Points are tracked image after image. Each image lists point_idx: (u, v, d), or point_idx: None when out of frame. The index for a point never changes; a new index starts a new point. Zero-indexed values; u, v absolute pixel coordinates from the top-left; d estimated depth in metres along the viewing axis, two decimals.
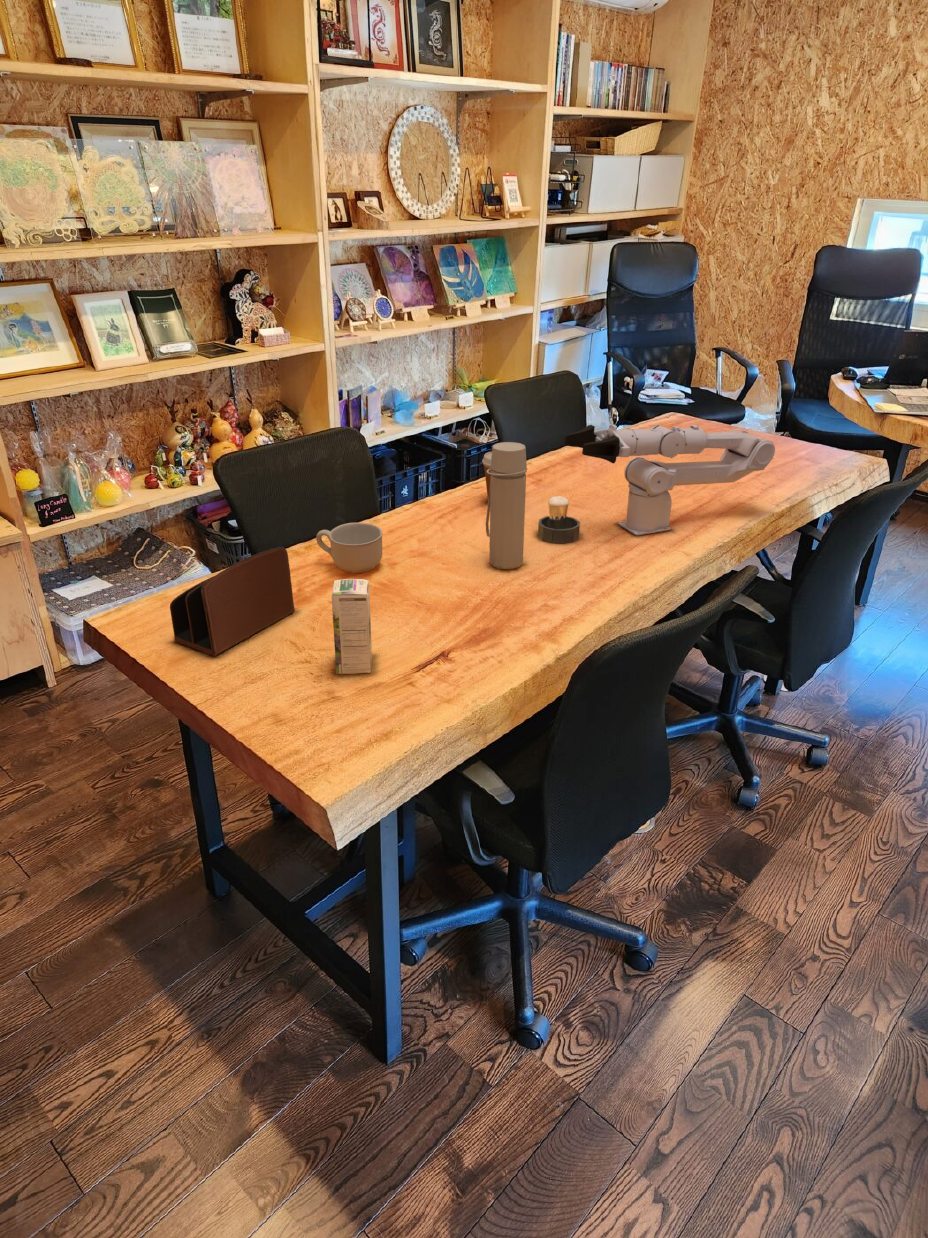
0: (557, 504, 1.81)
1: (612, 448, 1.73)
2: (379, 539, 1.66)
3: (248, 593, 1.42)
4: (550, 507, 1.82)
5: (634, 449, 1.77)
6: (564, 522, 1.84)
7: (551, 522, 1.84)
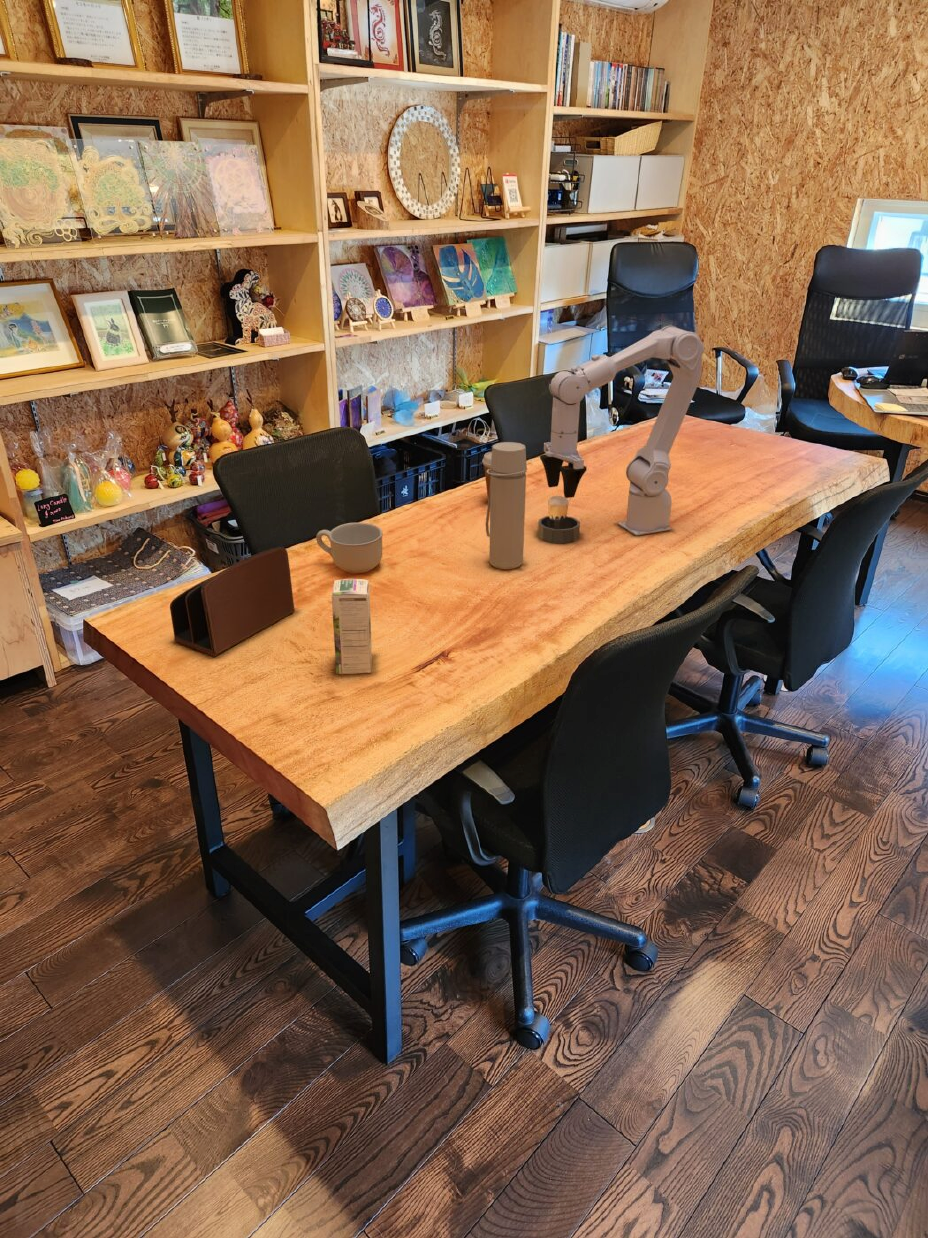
0: (557, 504, 1.81)
1: None
2: (379, 539, 1.66)
3: (248, 593, 1.42)
4: (550, 507, 1.82)
5: (573, 434, 1.74)
6: (564, 522, 1.84)
7: (551, 522, 1.84)
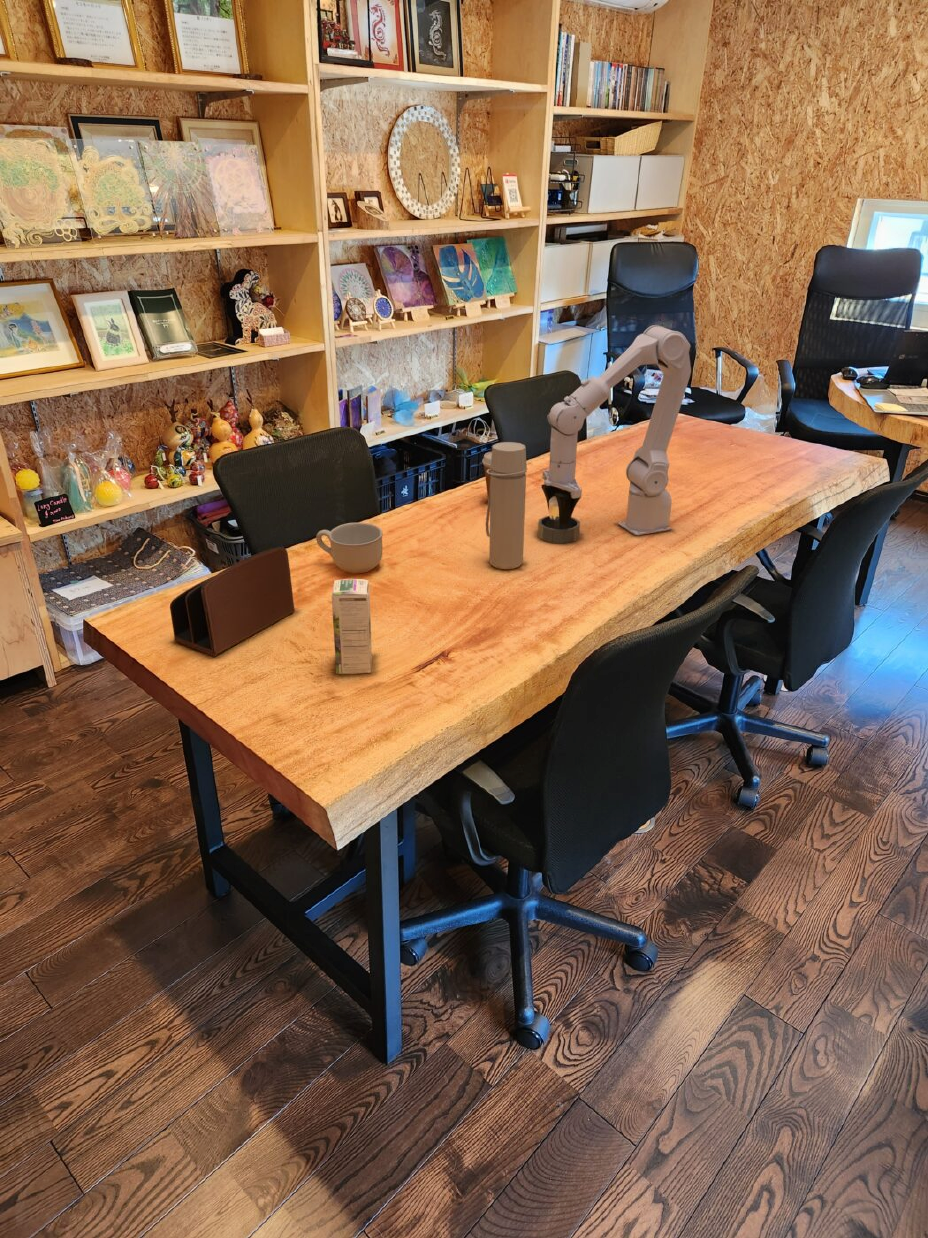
0: None
1: None
2: (379, 539, 1.66)
3: (248, 593, 1.42)
4: (551, 507, 1.82)
5: (571, 463, 1.77)
6: None
7: (551, 522, 1.84)
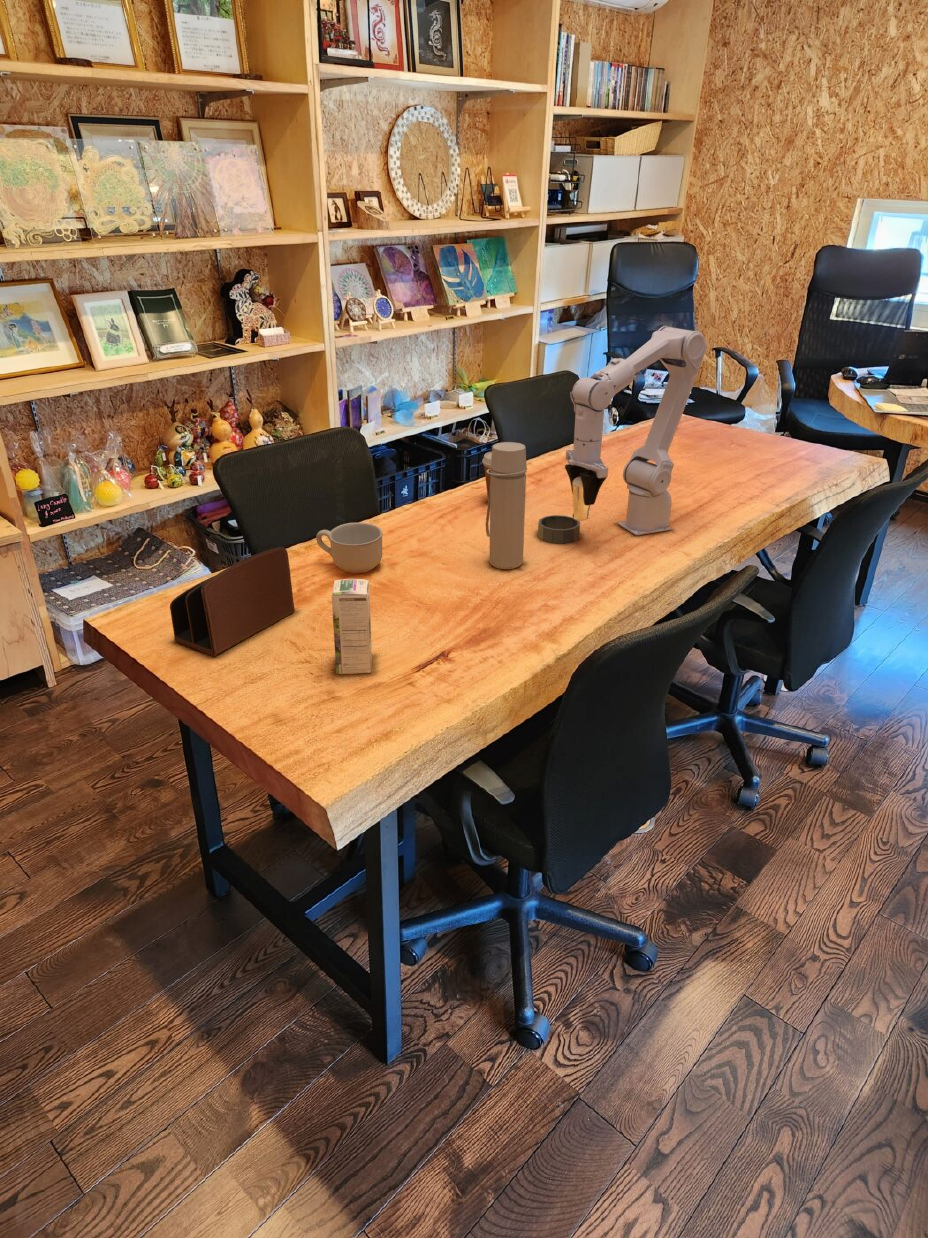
0: (582, 485, 1.73)
1: None
2: (379, 539, 1.66)
3: (248, 593, 1.42)
4: (574, 488, 1.74)
5: (597, 442, 1.68)
6: None
7: (575, 504, 1.76)
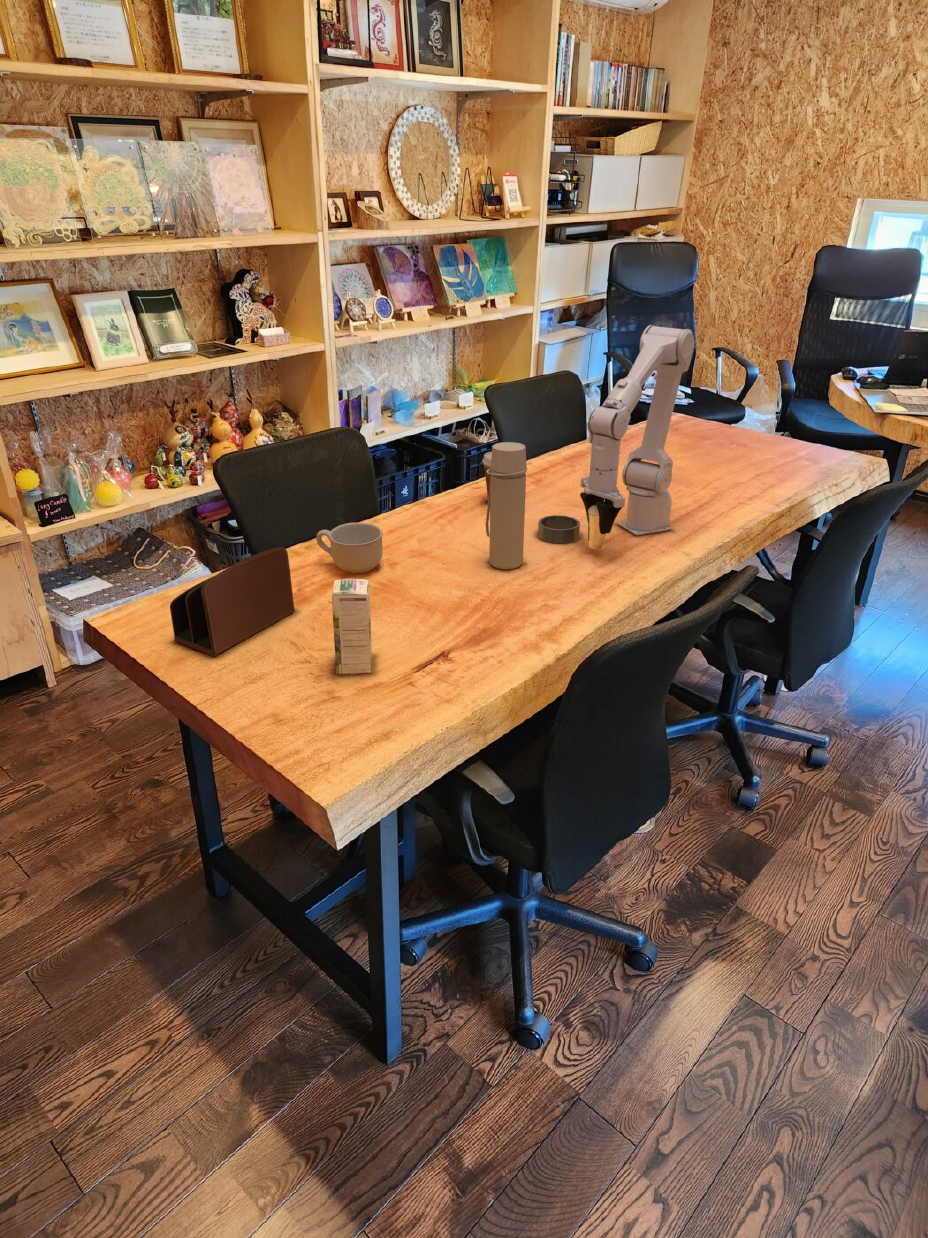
0: (598, 514, 1.71)
1: None
2: (379, 539, 1.66)
3: (248, 593, 1.42)
4: (590, 517, 1.73)
5: (614, 471, 1.67)
6: None
7: (591, 532, 1.74)
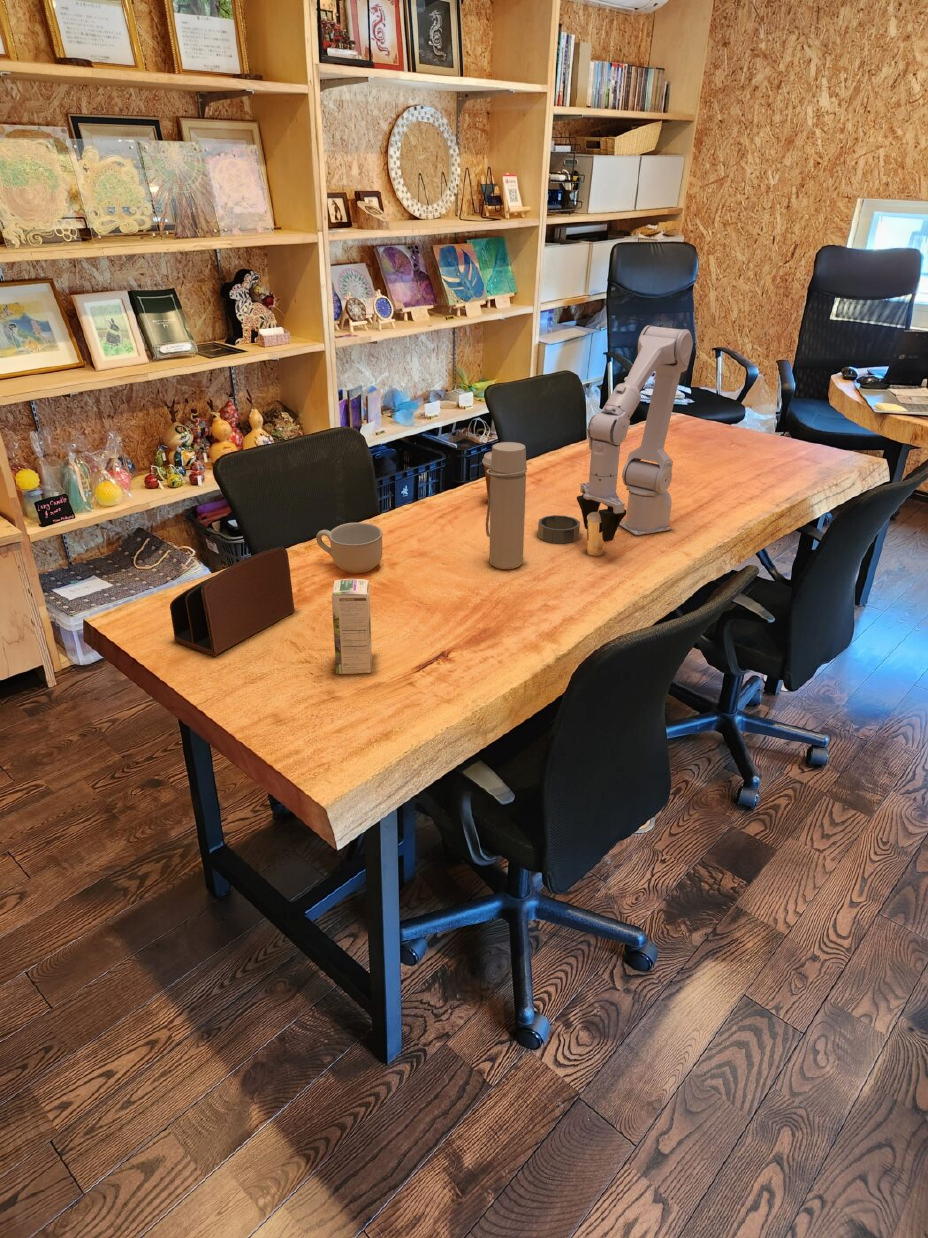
0: (596, 521, 1.72)
1: None
2: (379, 539, 1.66)
3: (248, 593, 1.42)
4: (589, 523, 1.74)
5: (613, 477, 1.68)
6: None
7: (590, 539, 1.75)
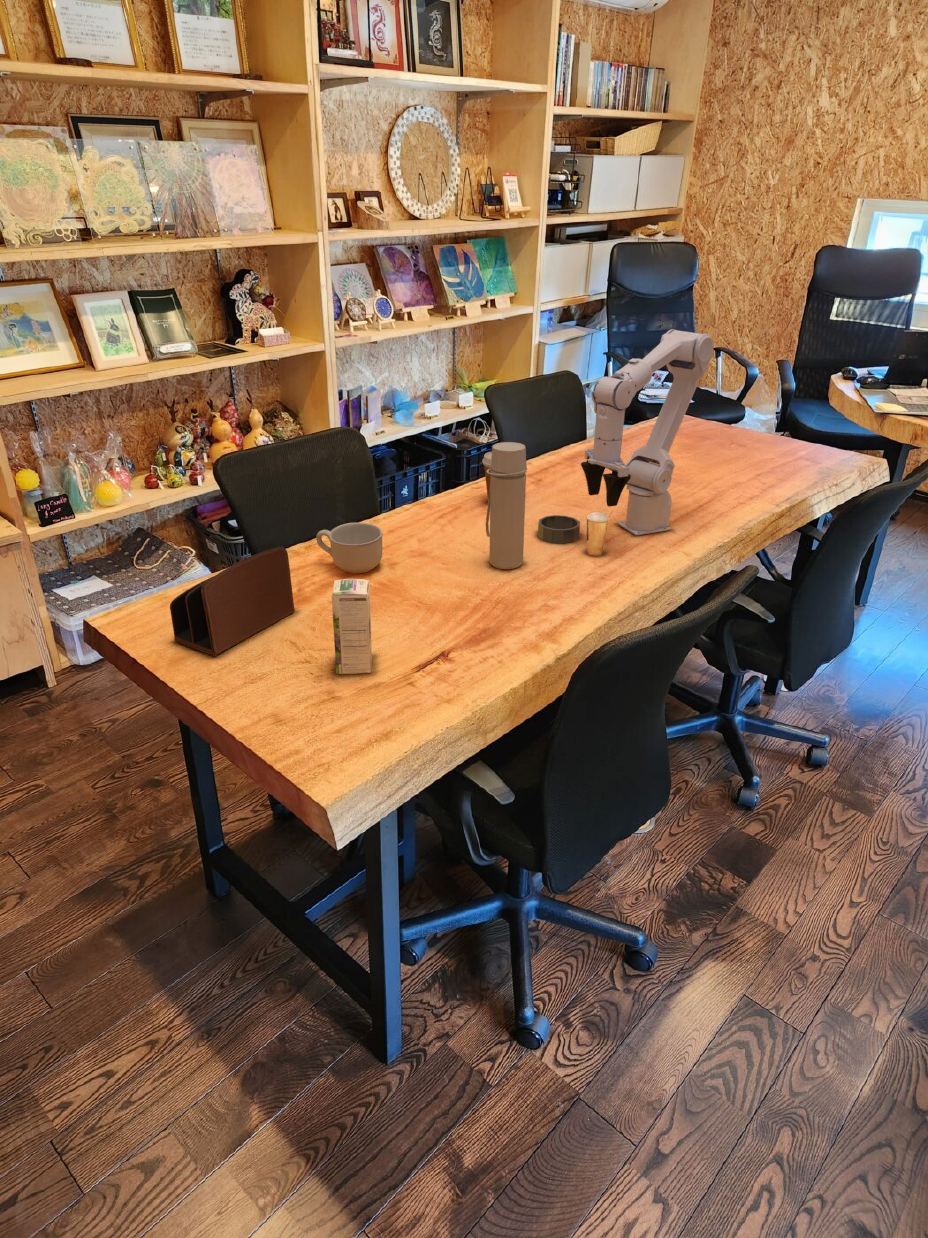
0: (596, 521, 1.72)
1: None
2: (379, 539, 1.66)
3: (248, 593, 1.42)
4: (589, 523, 1.74)
5: (618, 441, 1.69)
6: (603, 539, 1.75)
7: (590, 539, 1.75)
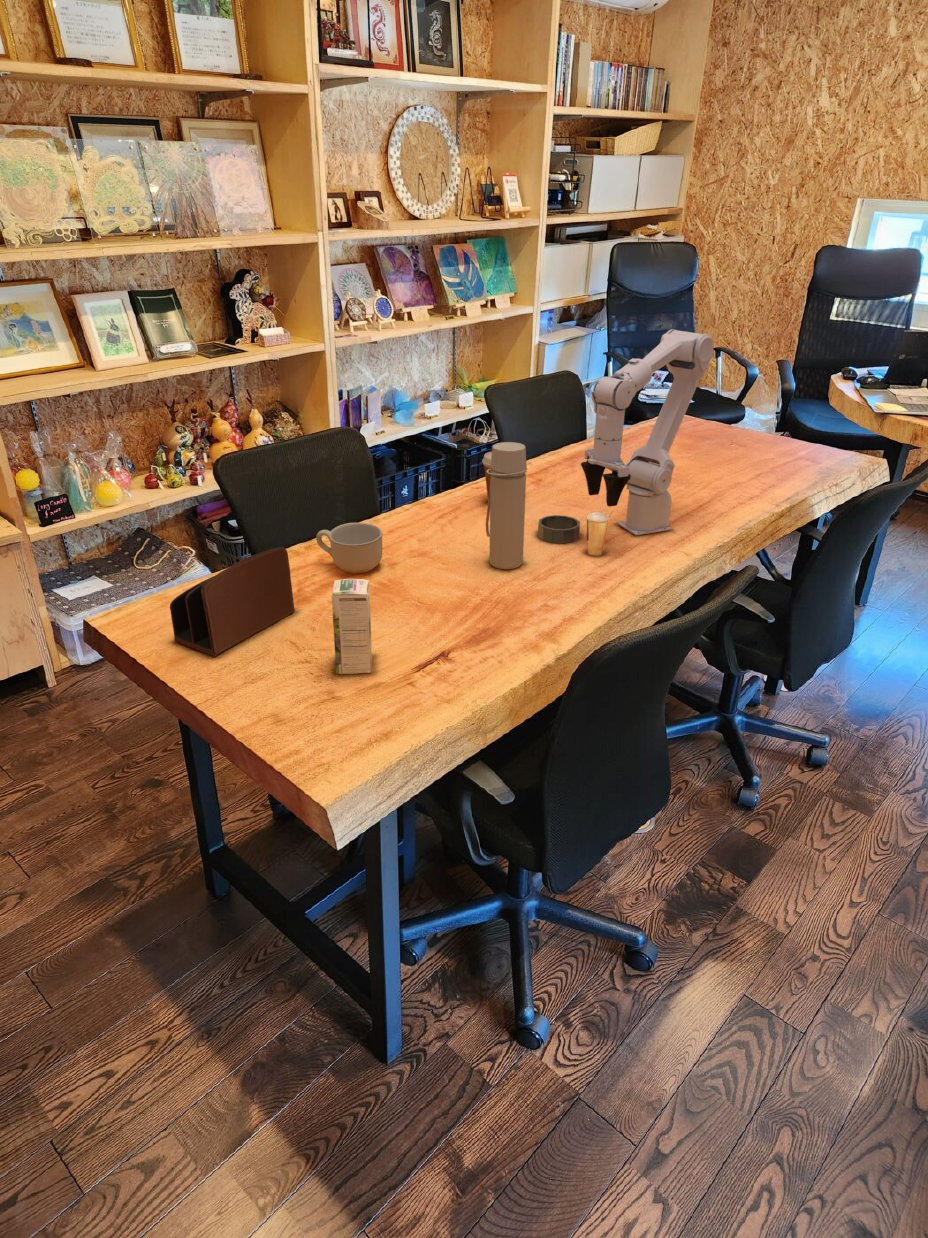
0: (596, 521, 1.72)
1: None
2: (379, 539, 1.66)
3: (248, 593, 1.42)
4: (589, 523, 1.74)
5: (618, 441, 1.69)
6: (603, 539, 1.75)
7: (590, 539, 1.75)
